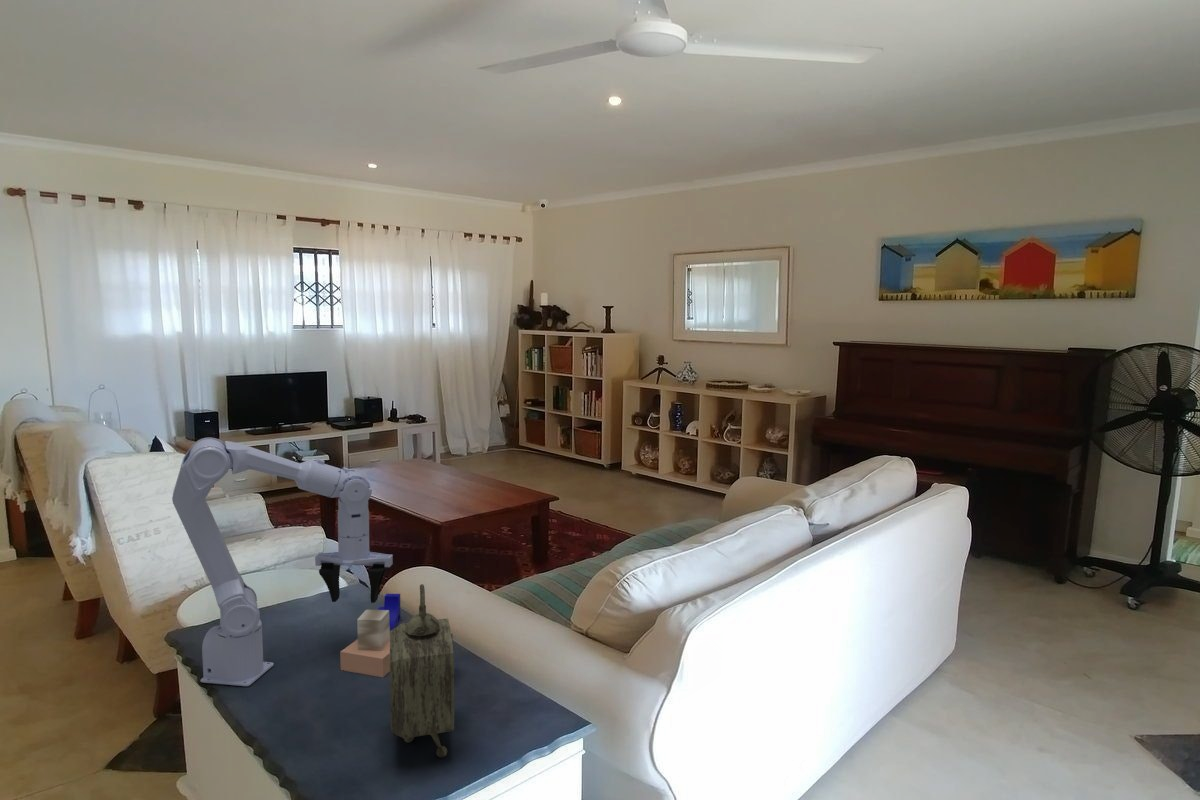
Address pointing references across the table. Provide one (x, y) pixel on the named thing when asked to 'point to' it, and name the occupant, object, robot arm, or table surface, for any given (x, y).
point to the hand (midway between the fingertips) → (355, 600)
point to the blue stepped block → (392, 609)
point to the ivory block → (373, 630)
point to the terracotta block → (366, 660)
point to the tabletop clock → (422, 677)
